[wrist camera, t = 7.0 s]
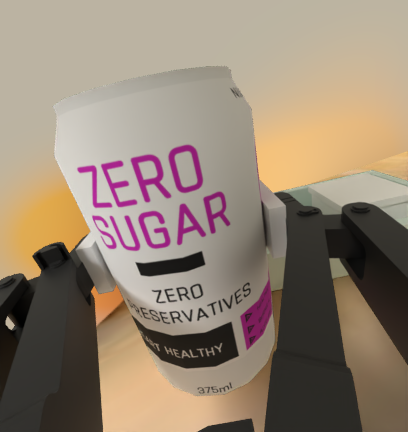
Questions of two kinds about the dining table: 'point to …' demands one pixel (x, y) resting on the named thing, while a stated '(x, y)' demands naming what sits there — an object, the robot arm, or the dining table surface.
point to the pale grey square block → (361, 195)
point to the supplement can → (177, 218)
